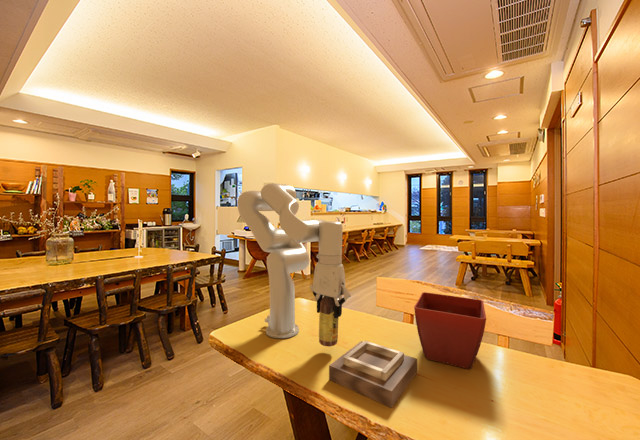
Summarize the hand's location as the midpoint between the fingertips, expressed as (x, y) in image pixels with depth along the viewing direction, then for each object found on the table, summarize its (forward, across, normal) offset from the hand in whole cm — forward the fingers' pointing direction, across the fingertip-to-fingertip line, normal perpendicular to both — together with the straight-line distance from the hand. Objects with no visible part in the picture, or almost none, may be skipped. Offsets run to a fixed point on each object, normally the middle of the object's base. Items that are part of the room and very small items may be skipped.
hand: (328, 313), depth 90 cm
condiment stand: (+12, +18, -3) cm, 22 cm away
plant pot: (+12, +32, +22) cm, 41 cm away
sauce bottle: (+10, 0, 0) cm, 10 cm away
